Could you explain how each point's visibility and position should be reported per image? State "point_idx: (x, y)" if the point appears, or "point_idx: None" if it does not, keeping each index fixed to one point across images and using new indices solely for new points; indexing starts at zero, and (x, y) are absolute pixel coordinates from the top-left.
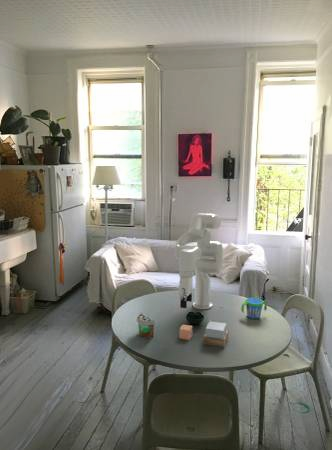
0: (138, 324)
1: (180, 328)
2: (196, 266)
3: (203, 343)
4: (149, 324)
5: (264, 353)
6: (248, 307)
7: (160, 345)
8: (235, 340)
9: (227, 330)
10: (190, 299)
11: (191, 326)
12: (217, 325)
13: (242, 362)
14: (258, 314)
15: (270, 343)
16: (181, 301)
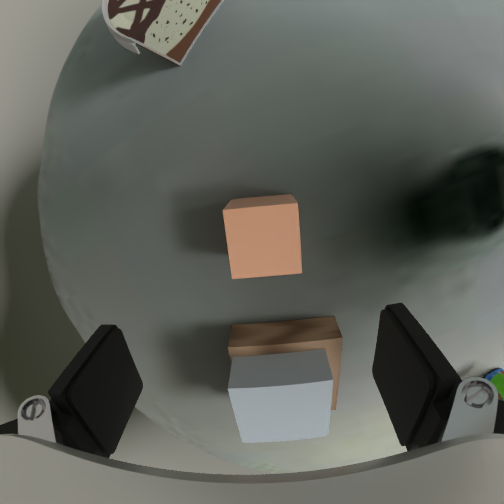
0: None
1: (229, 214)
2: None
3: (232, 327)
4: (114, 36)
5: (261, 462)
6: None
7: (119, 146)
8: None
9: (333, 407)
10: (381, 386)
11: (291, 270)
12: (290, 419)
13: (182, 435)
14: None
15: (325, 462)
16: (50, 400)
